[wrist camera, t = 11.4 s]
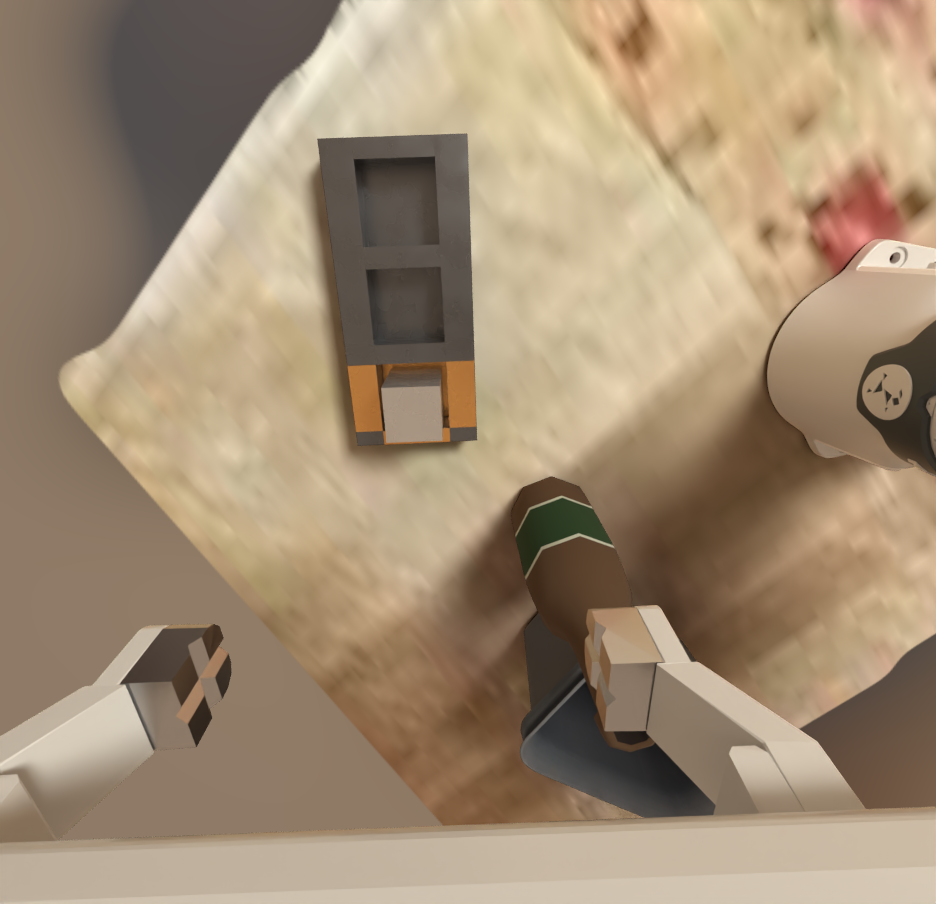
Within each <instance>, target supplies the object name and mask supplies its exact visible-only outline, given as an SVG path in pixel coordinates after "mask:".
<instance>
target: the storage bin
mask: <svg viewBox="0 0 936 904" xmlns="http://www.w3.org/2000/svg"><path fill="white" fill-rule="evenodd" d="M524 638H525V649H526V660H527V671H528V681H529V692H530V702H531V711H530V712H529V713H528V714H527V715H526V717H525V718H524V720H523V721H522V724H521V734H522V738H523V743H522V745H521V748H520V756H521V759H522V761H523V762H524V764H525V765H526V766H527V767H529V768H530V769H532V770H533V771H535V772H537V773H539V774H542V775H544V776H546V777H548V778H550V779H553V780H555V781H558V782H560V783H563V784H565V785H568V786H570V787H572V788H575V789H577V790H579V791H582V792H584V793H586V794H589V795H591V796H593V797H596V798H598V799H601V800H603V801H605V802H608V803H610V804H613V805H615V806H617V807H620V808H622V809H624V810H627V811H630V812H632V813H634V814H637V815H639V816H642V817H644V818H654V817H680V816H706V815H713V814H714V810H715V806H716V805H715V804H714V803H713V802H712V801H711V800H710V799H709V798H708V797H707V796H706V795H705V794H704V793H703V791H702V790H701V789H700V788H699V787H698V786H697V785H696V784H695V783H694V782H693V781H692V780H691V779H690V778H689V777H688V776H687V775H686V774H685V773H684V772H683V771H682V770H681V769H680V768H679V766H678V765H677V764H676V763H675V762H674V761H673V760H672V759H671V758H670V757H669V756H668V755H667V754H666V753H665V752H664V751H663V750H662V749H661V748H660V747H659V746H658V745H657V744H656V743H654V744H653V745H652V746H649V747H646V748H643V749H639V750H636V751H633V752H627V751H623V750H619V749H616V748H612V747H609V746H608V744H607V743H606V741H605V740H604V738H603V736H602V735H601V733H600V731H599V728H598V726H597V724H596V722H595V719H594V716H595V714H596V713H597V708H596V706H595V703H594V701H593V698H592V695H591V693H590V690H589V688H588V685H587V683H586V680H585V678H584V675H583V673H582V670H581V667H580V665H579V662H578V660H577V657H576V655H575V653H574V651H573V649H572V647H571V646H570V644H569V643H568V642H566V641H565V640H563V639H561V638H559V637H557V636H555V635H553V634H552V633H551V632H550V630H549V629H548V628H547V627H546V626H545V625H544V623H543V621H542V619H541V617H540V615H539V613H538V614H537V615H536V616H535V617H534V619H533V620H532V621H531V622H530V623H529V624H528V625H527V627H526V628H525V631H524ZM677 638H678V637H677ZM678 639H679V638H678ZM679 641H680V643H681V645H682V646H683V648H684V650H685V652H686V654H687V655H688V657H689V659H690V661H691V662H697V661H696V660H695V659H694V657H693V656H692V654H691V653H690V652H689V650H688V649H687V648H686V646H685V645H684V643H683V642H682V641H681V640H680V639H679Z"/></svg>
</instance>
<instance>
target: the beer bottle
mask: <svg viewBox="0 0 936 904" xmlns="http://www.w3.org/2000/svg"><path fill="white" fill-rule="evenodd" d="M511 517H512V524H513V528H514V533H515V537H516V541H517V546H518V550H519V554H520V559H521V563H522V567H523V572H524V576H525V580H526V583H527V586H528V589H529V592H530V594H531V597H532V599H533V601H534V604H535V606H536V608H537V610H538V612H539V615H540V617H541V619H542V621H543V623H544V625H545V626H546V627H547V628H548V629H549V630H550V632H551V633H552V634H553V635H555V636H557V637H559V638H561V639H563V640H565V641H566V642H568V643H569V644H570V646H571V647H572V649H573V651H574V653H575V655H576V657H577V660H578V662H579V665H580V667H581V670H582V673H583V675H584V678H585V680H586V683H587V685H588V688H589V690H590V693H591V695H592V698H593V701H594V703H595V706H596V708H597V705H596V694H597V690H596V689H595V688H594V687H593V686H592V685H590V681H589V678H588V674H587V669H586V663H585V639H586V638H587V636H588V635H589V631H588V628H587V624H586V619H587V612H588V609H598V608H619V607H632V593H631V590H630V587H629V584H628V581H627V578H626V575H625V573H624V570H623V567H622V564H621V562H620V559H619V557H618V554H617V552H616V550H615V548H614V546H613V544H612V542H611V540H610V539H609V537H608V535H607V533H606V531H605V530H604V528H603V526H602V524H601V522H600V521H599V519H598V517H597V515H596V514H595V512H594V510H593V508H592V506H591V505H590V503H589V501H588V499H587V497H586V496H585V494H584V493H583V491H582V490H581V488H580V487H579V486H576V485H574V484H571V483H568V482H566V481H563V480H560V479H557V478H555V477H549V478H546V479H544V480H541V481H538V482H536V483H533V484H531V485H528V486H525V487H523V489H522V491H521V493H520V495H519V497H518V499H517V501H516V503H515V505H514V507H513V509H512V511H511ZM594 719H595V722H596V724H597V726H598V728H599V731H600V733H601V735H602V736H603V738H604V740H605V741H606V743H607V744H608V746H609V747H612V748H616V749H619V750H623V751H627V752H633V751H636V750H639V749H643V748H646V747H649V746H652V745H653V744H654V743H655V741H654V740H653V739H652V738H651V737H650V736H649V735H648V734H647V731H604V728H603V725H602V721H601V718H600V715H599V711H598V708H597V713H596V714H595V716H594Z"/></svg>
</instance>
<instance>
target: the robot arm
mask: <svg viewBox="0 0 936 904" xmlns="http://www.w3.org/2000/svg"><path fill="white" fill-rule="evenodd" d="M892 254H893V258H892V260H891V261H890V256H891V255H892ZM767 383H768V390H769V394H770V397H771V400H772V402H773V404H774V406H775V408H776V410H777V411H778V412H779V414H780V415H781V416H782V417H783V418H784V419H785V420H786V421H787V422H789V423H790V424H791V425H793V426H794V427H796V428H797V429H799V430H800V431H801V432H802V433H803V434H804V436H805V438H806V440H807V442H808V445H809V446H810V448H811V450H812V451H813V452H814V453H815V454H816V455H819V456H821V457H824V458H834V457H839V456H843V455H847V454H848V455H851V456H853V457H856V458H858V459H861V460H863V461H866V462H868V463H871V464H873V465H876V466H878V467H881V468H884V469H886V470H890V471H899V470H901V469H904V468H912V467H917V468H918V469H919V470H921V471H923V472H926V473H928V474H930V475H933V476H935V477H936V248H930V247H925V246H920V245H915V244H909V243H904V242H899V241H894V240H886V239H876V240H873V241H871V242H869V243H868V244H867V245H865V246H864V247H863V248H862V249H861V250H860V251H859V252H858V254H857V255H856V256H855V257H854V258H853V259H852V261H851V262H850V263H849V264H848V266H847V267H846V268H845V269H844V270H843V271H842V272H841V273H840V274H839V275H837V276H836V277H835V278H833V279H832V280H830V281H828V282H827V283H825V284H824V285H822V286H821V287H819V288H818V289H816V290H815V291H814V292H812V293H811V294H810V295H809V296H808V297H807V298H805V299H804V300H803V301H802V302H801V303H800V304H799V305H798V306H797V307H796V309H795V310H794V311H793V312H792V313H791V315H790V316H789V317H788V319H787V320H786V321H785V323H784V324H783V326H782V328H781V329H780V331H779V333H778V335H777V337H776V339H775V342H774V344H773V347H772V350H771V353H770V357H769V362H768V369H767ZM586 624H587V628H588V631H589V635H588V636H587V638H586V639H585V663H586V669H587V674H588V678H589V681H590V685H592V686H593V687H594V688H595V689H596V690H597V694H596V705H597V708H598V711H599V715H600V718H601V721H602V725H603V728H604V731H647V734H648V735H649V736H650V737H651V738H652V739H653V740H654V741H655V743H656V744H657V745H658V746H659V747H660V748H661V749H662V750H663V751H664V752H665V753H666V754H667V755H668V756H669V757H670V758H671V759H672V760H673V761H674V762H675V763H676V764H677V765H678V766H679V768H680V769H681V770H682V771H683V772H684V773H685V774H686V775H687V776H688V777H689V778H690V779H691V780H692V781H693V782H694V783H695V784H696V785H697V786H698V787H699V788H700V789H701V790H702V791H703V793H704V794H705V795H706V796H707V797H708V798H709V799H710V800H711V801H712V802H713V803H714V804H715V805H716V806H715V810H714V814H713V815H706V816H680V817H654V818H627V819H601V820H575V821H549V822H524V823H499V824H474V825H449V826H426V827H399V828H398V827H397V828H373V829H345V830H320V831H319V830H318V831H295V832H294V831H292V832H266V833H240V834H214V835H187V836H163V837H137V838H136V837H135V838H110V839H84V840H61V841H60V840H59V839H60V838H61V837H62V836H63V835H64V834H65V833H67V832H68V831H69V830H70V829H71V828H72V827H73V826H74V825H75V824H77V823H78V822H79V821H80V820H81V819H82V818H83V817H84V816H85V815H86V814H88V812H90V811H91V810H92V809H93V808H94V807H95V806H96V805H97V804H98V803H100V802H101V801H102V800H103V799H104V798H105V797H106V796H107V795H108V794H109V793H111V792H112V791H113V790H114V789H115V788H116V787H117V786H118V785H119V784H120V783H122V781H124V780H125V779H126V778H127V777H128V776H129V775H130V774H131V773H133V772H134V771H135V770H136V769H137V768H138V767H139V766H140V765H141V764H142V763H143V762H145V761H146V760H147V759H148V758H149V757H150V756H151V755H152V754H153V753H154V750H166V749H180V748H195V747H197V745H198V743H199V741H200V740H201V737H202V736H203V734H204V732H205V730H206V728H207V727H208V725H209V723H210V721H211V719H212V716H211V712H210V708H211V707H213V706H214V705H215V704H217V703H218V702H219V701H220V700H222V698H223V696H224V694H225V692H226V690H227V688H228V685H229V681H230V677H231V661H230V658H229V654H228V653H227V652H226V651H225V650H224V649H222V648H221V647H220V646H219V645H220V643H221V642H222V640H223V635H222V632H221V629H220V627H219V626H217V625H215V624H192V625H191V624H188V625H169V626H168V625H158V626H156V625H155V626H146V627H144V628H142V629H140V630H139V631H138V632H137V633H136V635H135V636H134V637H133V638H132V639H131V640H130V642H129V643H128V644H127V645H126V646H125V647H124V649H123V650H122V651H121V652H120V654H119V655H118V656H117V657H116V658H115V659H114V660H113V662H112V663H111V664H110V665H109V666H108V667H107V669H106V670H105V671H104V672H103V673H102V674H101V676H100V677H99V678H98V679H97V680H96V682H95V683H94V684H93V685H92V686H84V687H82V688H81V689H79V690H77V691H75V692H74V693H72V694H70V695H69V696H67V697H65V698H64V699H62V700H61V701H59V702H57V703H56V704H54V705H52V706H50V707H49V708H47V709H46V710H44V711H42V712H40V713H39V714H37V715H36V716H34V717H32V718H31V719H29V720H27V721H25V722H24V723H22V724H20V725H19V726H17V727H15V728H14V729H12V730H10V731H9V732H7V733H5V734H4V735H2V736H0V904H936V807H916V808H890V809H865V807H864V806H863V804H862V803H861V802H860V800H859V799H858V798H857V796H856V795H855V793H854V792H853V791H852V789H851V788H850V786H849V785H848V784H847V782H846V781H845V780H844V778H843V777H842V775H841V774H840V773H839V771H838V770H837V768H836V767H835V766H834V764H833V763H832V761H831V760H830V759H829V757H828V756H827V755H826V753H825V752H824V751H823V749H822V748H821V746H820V745H819V743H818V742H817V741H816V740H814V739H813V738H811V737H810V736H808V735H807V734H805V733H804V732H802V731H801V730H799V729H798V728H796V727H795V726H793V725H792V724H790V723H789V722H787V721H786V720H784V719H783V718H781V717H780V716H778V715H777V714H775V713H774V712H772V711H771V710H769V709H768V708H766V707H765V706H763V705H762V704H760V703H759V702H757V701H756V700H754V699H753V698H752V697H750V696H749V695H747V694H746V693H744V692H743V691H741V690H740V689H738V688H737V687H735V686H734V685H732V684H731V683H729V682H728V681H726V680H725V679H723V678H722V677H720V676H719V675H717V674H716V673H714V672H713V671H711V670H710V669H708V668H707V667H705V666H704V665H702V664H701V663H699V662H691V661H690V659H689V657H688V655H687V654H686V652H685V650H684V648H683V646H682V645H681V643H680V641H679V639H678V638H677V636H676V634H675V632H674V631H673V629H672V627H671V625H670V623H669V622H668V620H667V618H666V616H665V615H664V613H663V611H662V609H661V608H660V607H659V606H657V605H648V606H634V607H619V608H598V609H588V612H587V619H586Z"/></svg>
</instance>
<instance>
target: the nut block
mask: <svg viewBox="0 0 936 904" xmlns="http://www.w3.org/2000/svg"><path fill="white" fill-rule="evenodd" d="M381 391H382V402H383V412H384V422H385V432H386V443H395V442H422V441H443V419H444V407H443V386H442V365H435V366H405V367H392V368H391V370H390V372H389V374H388V376H387V378H386V380H385V382H384V384H383V386H382V387H381Z"/></svg>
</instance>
